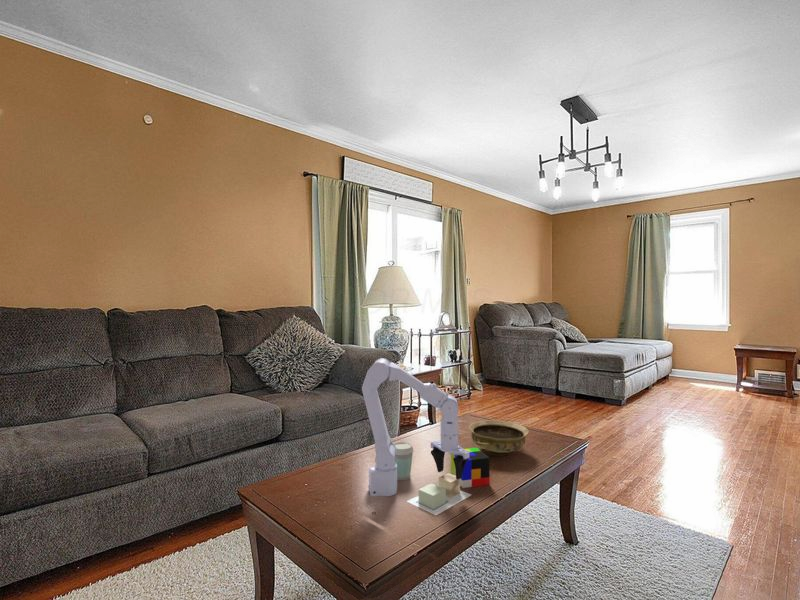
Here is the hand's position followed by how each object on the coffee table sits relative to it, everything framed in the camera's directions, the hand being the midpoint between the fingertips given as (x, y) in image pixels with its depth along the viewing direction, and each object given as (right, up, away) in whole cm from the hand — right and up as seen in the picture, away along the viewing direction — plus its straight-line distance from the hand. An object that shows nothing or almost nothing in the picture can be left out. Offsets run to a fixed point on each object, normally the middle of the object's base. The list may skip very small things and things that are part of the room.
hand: (449, 474), depth 140 cm
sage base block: (-6, -6, -6) cm, 11 cm away
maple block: (0, -6, 0) cm, 6 cm away
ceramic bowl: (+25, -6, +38) cm, 46 cm away
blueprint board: (-4, -7, -4) cm, 8 cm away
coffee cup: (-16, -7, +13) cm, 21 cm away
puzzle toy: (+8, -7, +10) cm, 15 cm away
